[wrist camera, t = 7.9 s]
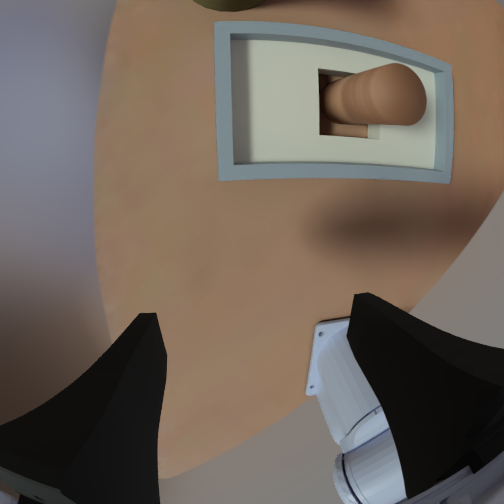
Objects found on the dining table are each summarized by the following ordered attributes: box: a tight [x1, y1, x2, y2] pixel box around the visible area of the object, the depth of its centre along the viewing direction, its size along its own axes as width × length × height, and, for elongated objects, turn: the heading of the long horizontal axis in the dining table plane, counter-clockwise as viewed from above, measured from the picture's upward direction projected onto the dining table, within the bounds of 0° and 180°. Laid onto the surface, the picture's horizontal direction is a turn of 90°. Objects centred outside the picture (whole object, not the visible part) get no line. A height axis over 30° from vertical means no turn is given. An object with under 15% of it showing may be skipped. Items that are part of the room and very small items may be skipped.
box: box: [214, 21, 454, 184], centre depth 15 cm, size 9×16×3 cm, turn 91°
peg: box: [319, 63, 427, 126], centre depth 13 cm, size 3×3×7 cm
